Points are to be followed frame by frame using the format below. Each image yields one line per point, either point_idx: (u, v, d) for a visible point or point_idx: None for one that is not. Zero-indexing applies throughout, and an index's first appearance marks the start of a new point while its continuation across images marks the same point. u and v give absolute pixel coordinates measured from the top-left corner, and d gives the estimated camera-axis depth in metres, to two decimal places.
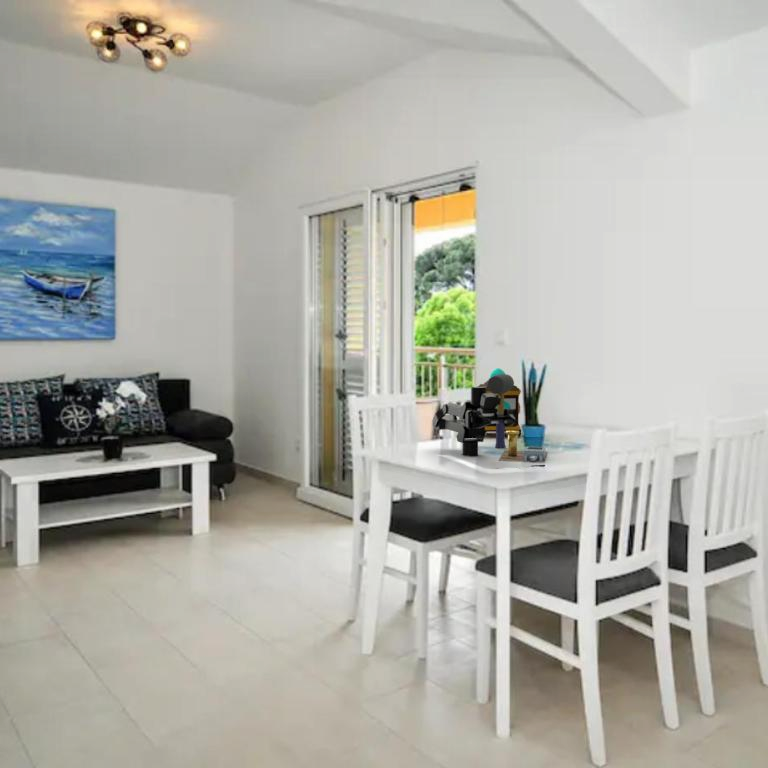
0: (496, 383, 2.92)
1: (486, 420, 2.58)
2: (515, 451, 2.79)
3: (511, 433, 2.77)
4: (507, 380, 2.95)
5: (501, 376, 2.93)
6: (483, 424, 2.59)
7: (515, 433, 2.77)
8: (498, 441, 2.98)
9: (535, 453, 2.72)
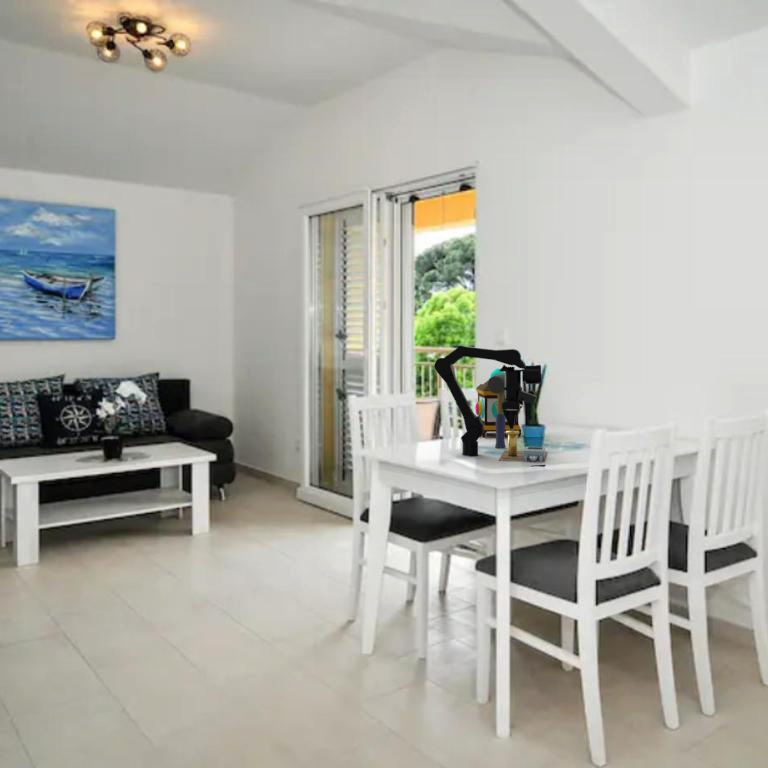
0: (496, 383, 2.92)
1: (512, 424, 2.74)
2: (515, 451, 2.79)
3: (511, 433, 2.77)
4: None
5: (501, 376, 2.93)
6: (507, 420, 2.74)
7: (515, 433, 2.77)
8: (498, 441, 2.98)
9: (535, 453, 2.72)
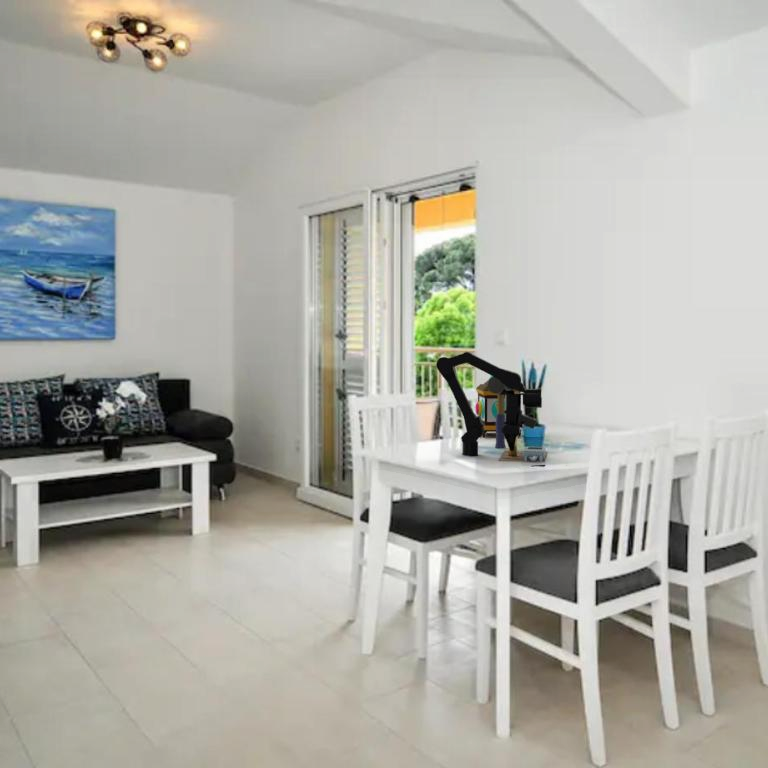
0: (496, 383, 2.92)
1: (512, 446, 2.77)
2: (515, 451, 2.79)
3: None
4: None
5: None
6: (508, 442, 2.77)
7: None
8: (498, 441, 2.98)
9: (535, 453, 2.72)
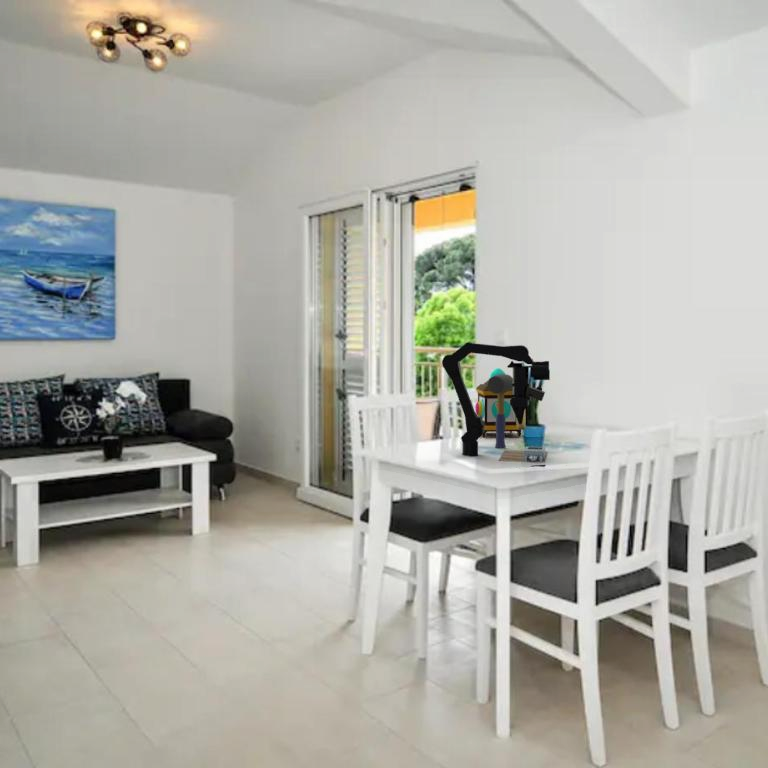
0: (496, 383, 2.92)
1: (521, 419, 2.76)
2: (523, 424, 2.77)
3: None
4: (507, 380, 2.95)
5: (501, 376, 2.93)
6: (516, 415, 2.76)
7: None
8: (498, 441, 2.98)
9: (535, 453, 2.72)
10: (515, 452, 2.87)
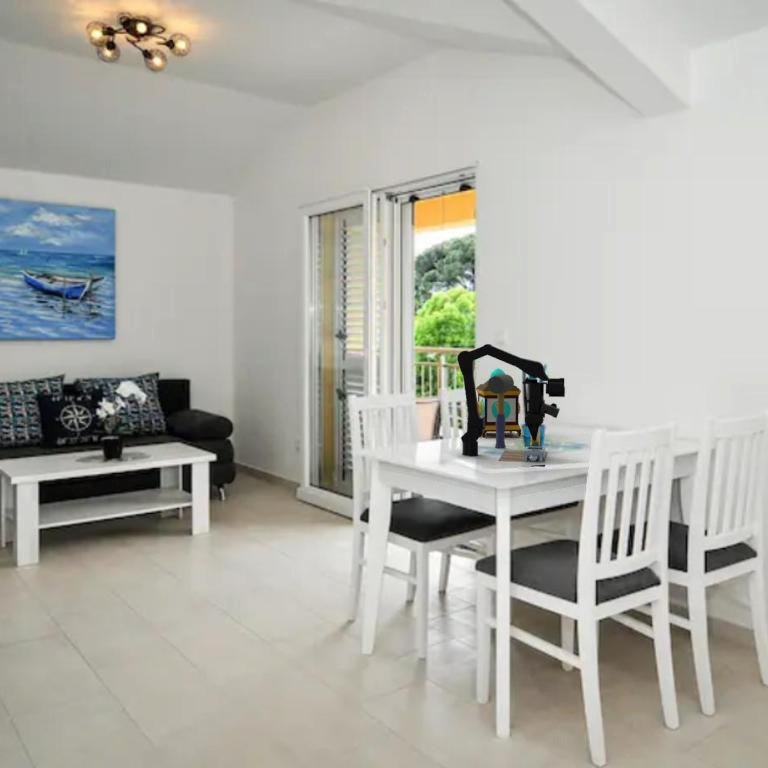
0: (496, 383, 2.92)
1: (535, 436, 2.75)
2: (538, 441, 2.76)
3: None
4: (507, 380, 2.95)
5: (501, 376, 2.93)
6: (531, 432, 2.75)
7: None
8: (498, 441, 2.98)
9: (535, 453, 2.72)
10: (515, 452, 2.87)
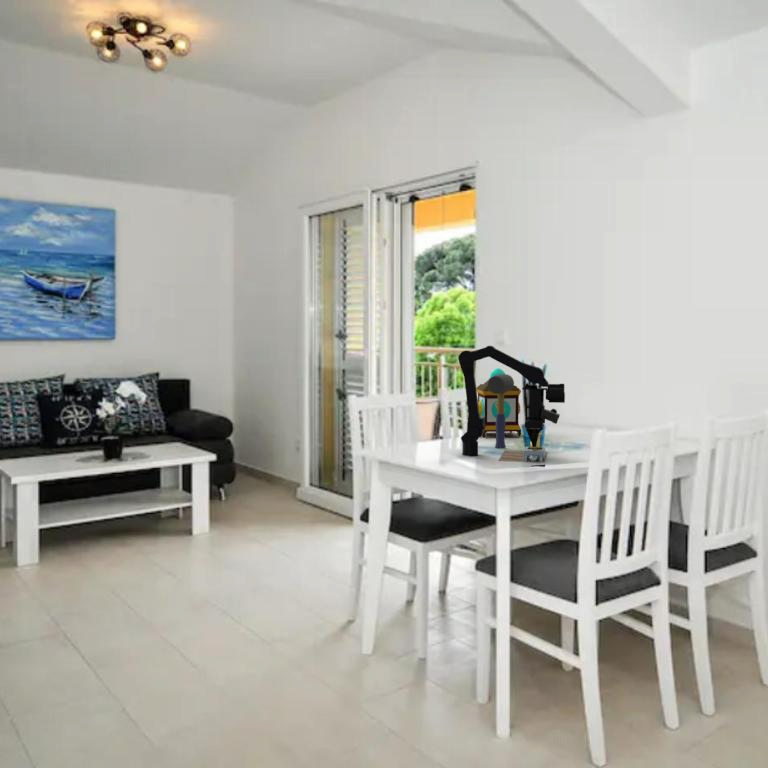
0: (496, 383, 2.92)
1: (535, 442, 2.74)
2: None
3: None
4: (507, 380, 2.95)
5: (501, 376, 2.93)
6: (530, 438, 2.74)
7: None
8: (498, 441, 2.98)
9: (535, 453, 2.72)
10: (515, 452, 2.87)
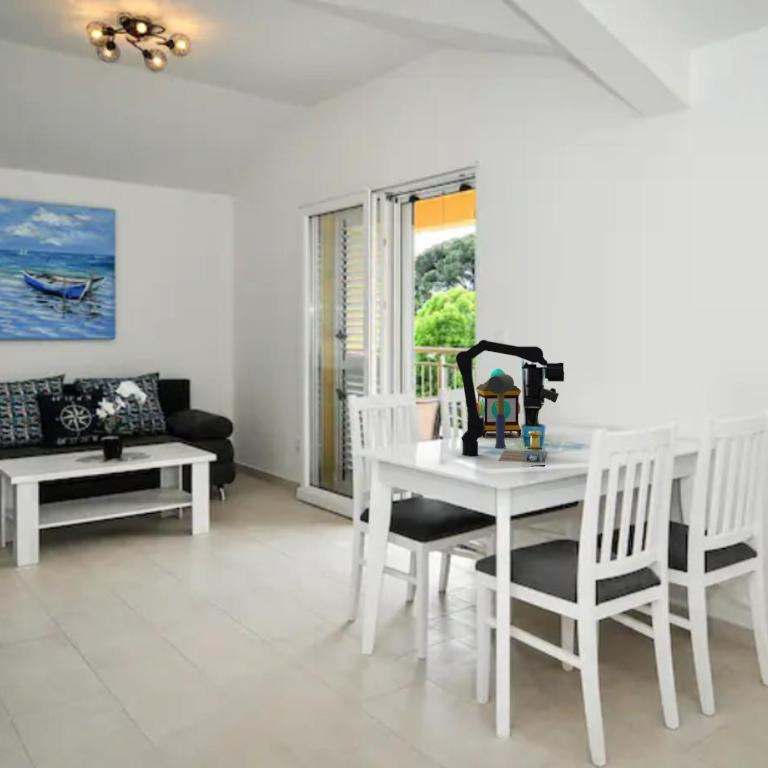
0: (496, 383, 2.92)
1: (533, 421, 2.73)
2: None
3: (534, 434, 2.75)
4: (507, 380, 2.95)
5: (501, 376, 2.93)
6: (529, 417, 2.73)
7: (538, 434, 2.75)
8: (498, 441, 2.98)
9: (535, 453, 2.72)
10: (515, 452, 2.87)
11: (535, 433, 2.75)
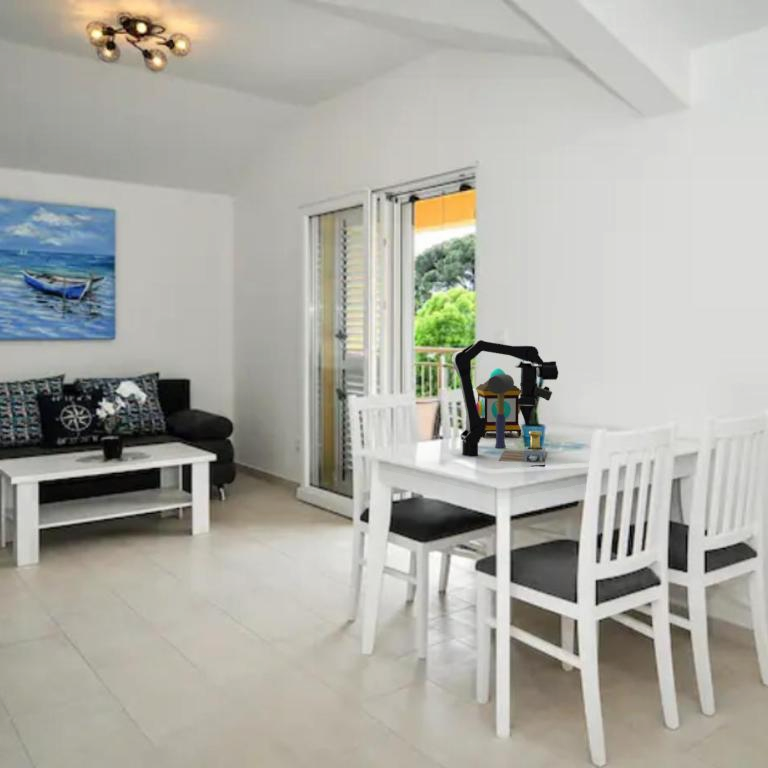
0: (496, 383, 2.92)
1: (528, 419, 2.79)
2: None
3: (534, 434, 2.75)
4: (507, 380, 2.95)
5: (501, 376, 2.93)
6: (523, 415, 2.79)
7: (538, 434, 2.75)
8: (498, 441, 2.98)
9: (535, 453, 2.72)
10: (515, 452, 2.87)
11: (535, 433, 2.75)
